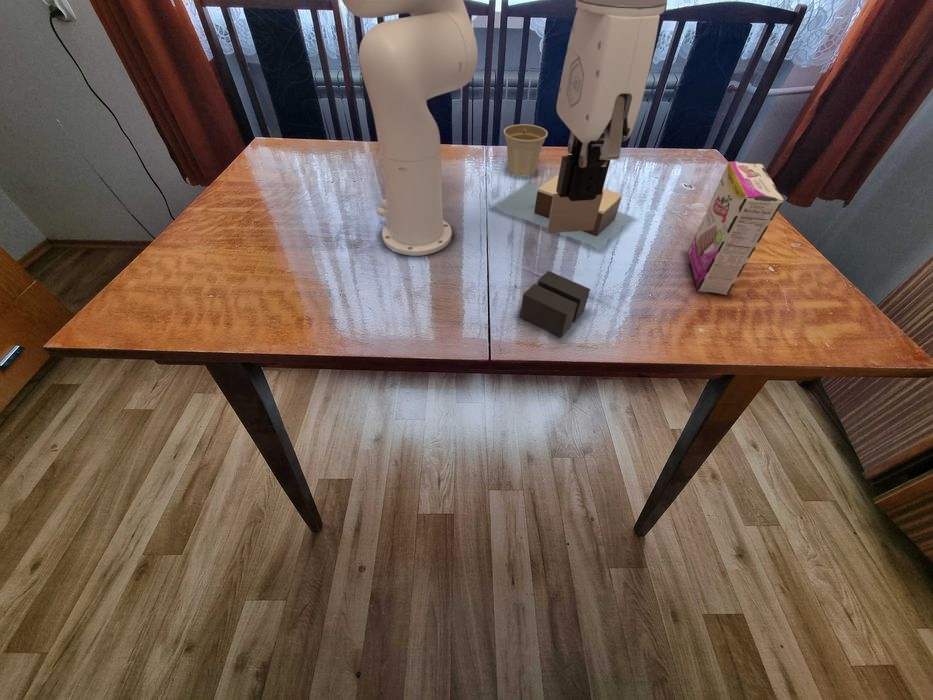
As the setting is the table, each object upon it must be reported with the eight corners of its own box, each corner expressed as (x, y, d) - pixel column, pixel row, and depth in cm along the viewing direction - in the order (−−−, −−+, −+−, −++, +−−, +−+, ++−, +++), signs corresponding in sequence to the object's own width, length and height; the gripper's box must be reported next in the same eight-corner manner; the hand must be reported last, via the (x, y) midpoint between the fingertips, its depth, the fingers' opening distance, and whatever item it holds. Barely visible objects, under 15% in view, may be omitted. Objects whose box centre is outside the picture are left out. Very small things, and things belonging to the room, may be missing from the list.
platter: (493, 209, 84) (493, 206, 83) (530, 184, 91) (530, 181, 91) (598, 250, 74) (599, 247, 74) (630, 219, 82) (631, 216, 81)
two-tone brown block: (534, 213, 82) (537, 188, 78) (554, 197, 86) (558, 173, 82) (551, 219, 80) (556, 195, 77) (571, 203, 85) (576, 179, 81)
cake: (558, 222, 80) (563, 197, 76) (578, 206, 84) (583, 181, 80) (596, 236, 76) (603, 211, 73) (615, 219, 81) (622, 194, 77)
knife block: (519, 317, 62) (522, 293, 59) (543, 293, 66) (548, 270, 63) (561, 338, 59) (567, 314, 56) (583, 312, 63) (590, 289, 60)
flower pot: (494, 165, 98) (497, 126, 91) (531, 161, 100) (536, 121, 93) (509, 183, 92) (513, 142, 85) (548, 178, 94) (555, 137, 87)
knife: (548, 236, 51) (562, 162, 45) (545, 229, 53) (557, 156, 46) (595, 232, 52) (615, 159, 46) (590, 225, 53) (609, 153, 47)
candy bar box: (684, 253, 74) (727, 159, 62) (714, 256, 73) (763, 163, 61) (694, 292, 67) (746, 194, 55) (728, 297, 66) (787, 199, 54)
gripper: (553, -25, 40) (529, 167, 54) (618, 3, 30) (568, 233, 43) (627, -25, 41) (585, 164, 54) (716, 2, 30) (637, 227, 44)
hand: (578, 193), depth 49 cm, fingers closed on knife, 1 cm apart
